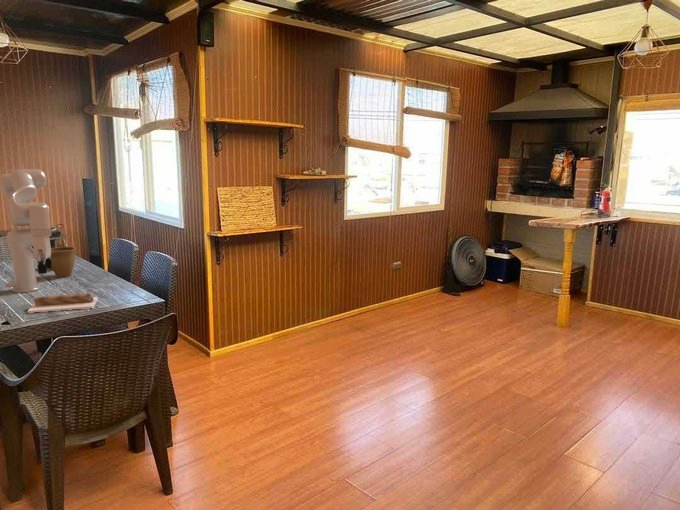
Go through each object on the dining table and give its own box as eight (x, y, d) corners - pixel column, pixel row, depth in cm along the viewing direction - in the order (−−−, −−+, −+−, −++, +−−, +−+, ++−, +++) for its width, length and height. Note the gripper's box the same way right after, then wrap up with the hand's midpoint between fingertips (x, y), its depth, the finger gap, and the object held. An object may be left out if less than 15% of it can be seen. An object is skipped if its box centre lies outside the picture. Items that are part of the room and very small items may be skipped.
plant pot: (83, 273, 290) (81, 246, 287) (67, 279, 276) (64, 251, 272) (59, 272, 292) (57, 246, 288) (42, 278, 277) (39, 250, 274)
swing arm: (93, 299, 234) (93, 292, 233) (92, 301, 231) (92, 294, 230) (36, 303, 226) (35, 296, 226) (35, 305, 223) (34, 298, 223)
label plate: (27, 313, 217) (27, 310, 217) (37, 303, 232) (36, 300, 232) (92, 308, 225) (92, 305, 225) (97, 299, 240) (97, 296, 240)
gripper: (36, 230, 222) (40, 267, 225) (25, 236, 206) (30, 276, 209) (55, 229, 224) (59, 266, 227) (46, 235, 208) (50, 274, 211)
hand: (45, 270), depth 218 cm, fingers open, 9 cm apart
